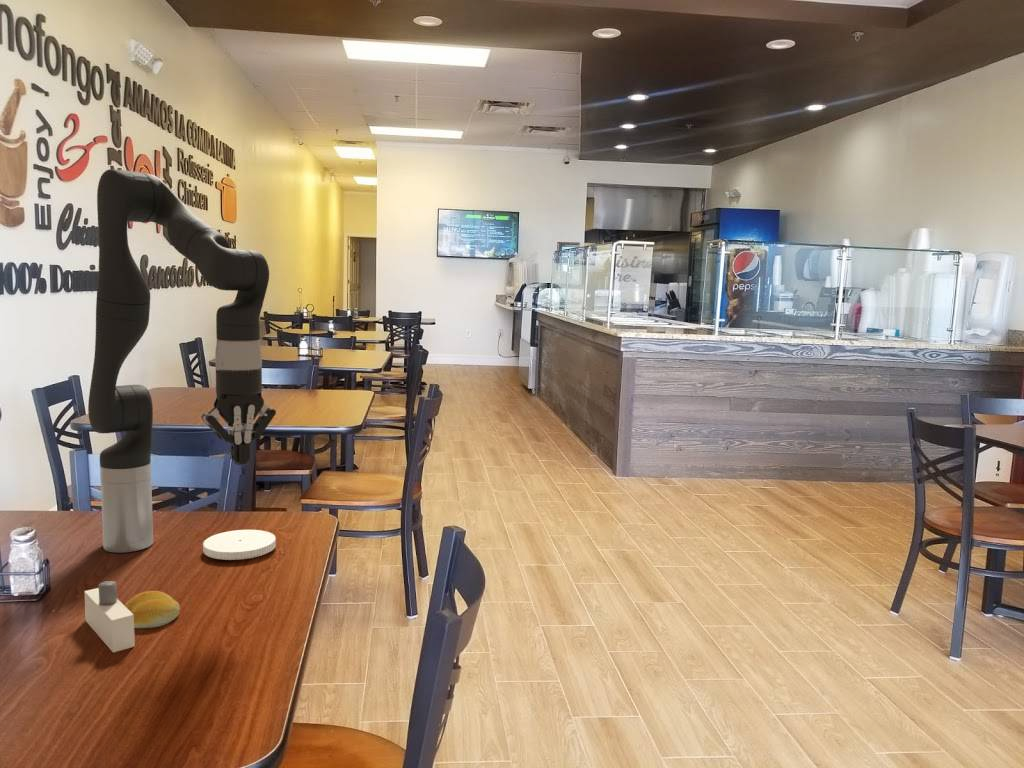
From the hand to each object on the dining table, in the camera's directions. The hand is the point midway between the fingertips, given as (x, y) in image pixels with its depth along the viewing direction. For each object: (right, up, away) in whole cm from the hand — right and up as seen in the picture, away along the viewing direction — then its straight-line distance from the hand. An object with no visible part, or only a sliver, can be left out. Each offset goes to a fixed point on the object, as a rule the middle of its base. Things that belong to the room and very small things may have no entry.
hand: (240, 463), depth 134 cm
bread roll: (-11, -25, -9) cm, 29 cm away
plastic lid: (-8, -21, +22) cm, 31 cm away
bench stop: (-15, -25, -15) cm, 33 cm away
